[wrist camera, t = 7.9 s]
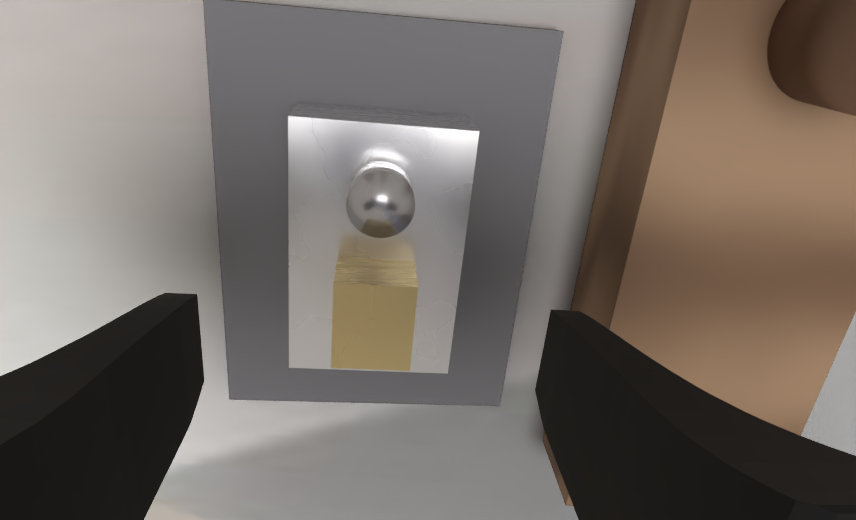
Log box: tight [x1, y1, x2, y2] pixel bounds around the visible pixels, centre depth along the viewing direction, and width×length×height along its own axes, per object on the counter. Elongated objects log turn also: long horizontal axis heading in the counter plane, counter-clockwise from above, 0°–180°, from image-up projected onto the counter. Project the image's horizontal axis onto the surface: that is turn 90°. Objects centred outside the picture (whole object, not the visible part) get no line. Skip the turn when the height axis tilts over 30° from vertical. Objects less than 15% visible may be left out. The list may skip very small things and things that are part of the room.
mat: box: [203, 0, 563, 406], centre depth 17 cm, size 12×9×1 cm
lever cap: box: [288, 101, 479, 374], centre depth 15 cm, size 7×4×4 cm, turn 175°
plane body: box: [543, 0, 856, 506], centre depth 15 cm, size 16×7×7 cm, turn 175°
